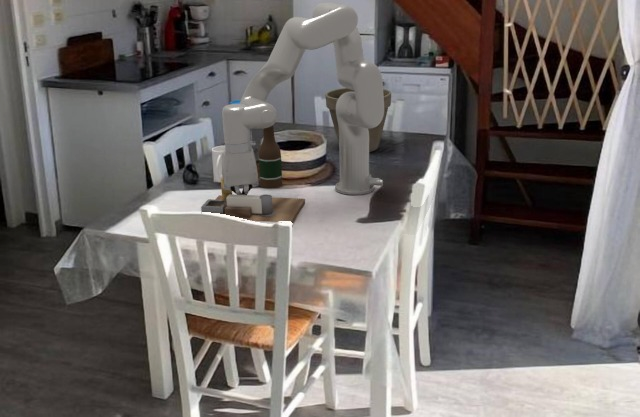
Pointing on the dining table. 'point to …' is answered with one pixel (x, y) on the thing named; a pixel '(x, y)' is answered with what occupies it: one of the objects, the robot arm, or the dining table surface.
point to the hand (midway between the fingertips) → (242, 205)
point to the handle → (252, 202)
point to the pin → (224, 191)
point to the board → (281, 212)
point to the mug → (217, 162)
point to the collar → (214, 206)
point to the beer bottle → (270, 161)
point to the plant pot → (373, 132)
